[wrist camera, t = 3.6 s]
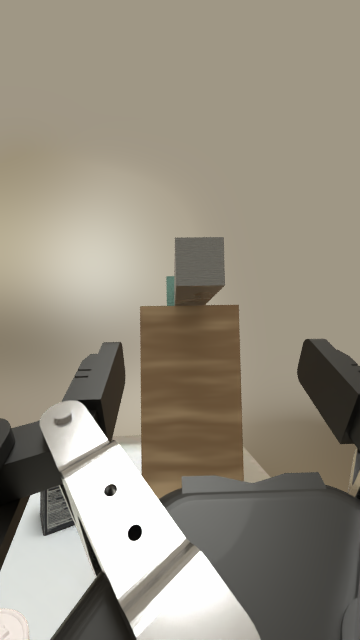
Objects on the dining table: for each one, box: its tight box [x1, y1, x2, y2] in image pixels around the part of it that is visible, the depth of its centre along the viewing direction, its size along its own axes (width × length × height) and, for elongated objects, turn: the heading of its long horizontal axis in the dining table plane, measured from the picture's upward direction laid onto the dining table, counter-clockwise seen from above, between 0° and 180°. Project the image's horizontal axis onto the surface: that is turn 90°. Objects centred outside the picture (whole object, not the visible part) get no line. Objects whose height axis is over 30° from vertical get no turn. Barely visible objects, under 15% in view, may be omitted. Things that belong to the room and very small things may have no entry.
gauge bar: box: [167, 237, 225, 306], centre depth 30 cm, size 26×6×5 cm, turn 1°
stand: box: [140, 305, 244, 499], centre depth 34 cm, size 14×10×32 cm
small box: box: [40, 486, 75, 535], centre depth 45 cm, size 11×6×10 cm, turn 122°
